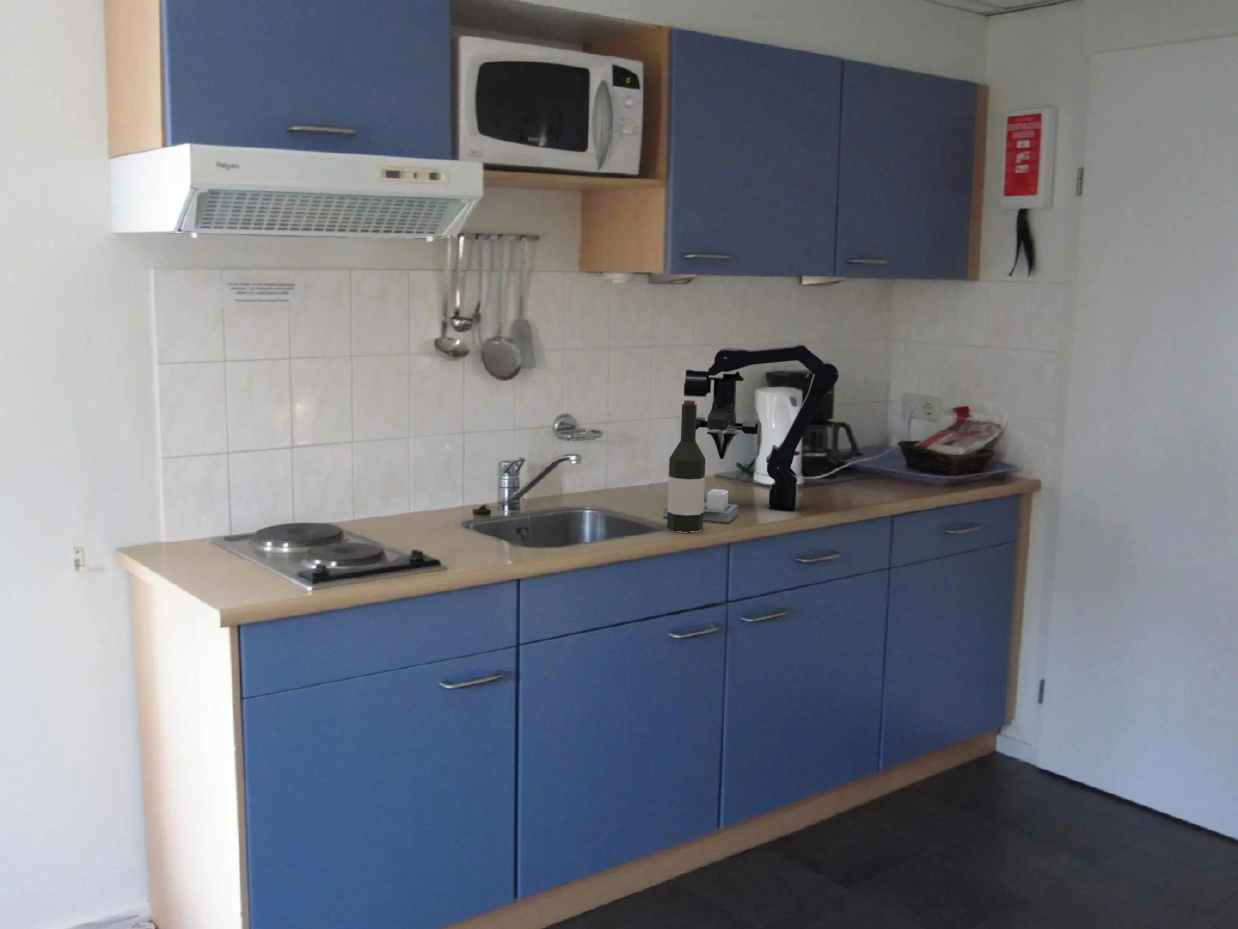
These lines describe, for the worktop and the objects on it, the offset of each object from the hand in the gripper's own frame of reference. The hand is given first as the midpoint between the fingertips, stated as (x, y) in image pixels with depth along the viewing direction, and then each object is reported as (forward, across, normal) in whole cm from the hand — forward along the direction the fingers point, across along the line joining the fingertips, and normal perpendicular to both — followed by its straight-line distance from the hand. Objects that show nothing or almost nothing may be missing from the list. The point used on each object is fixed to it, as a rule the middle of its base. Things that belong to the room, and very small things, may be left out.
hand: (721, 458), depth 311 cm
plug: (+12, +3, -16) cm, 20 cm away
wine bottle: (+12, -1, -32) cm, 34 cm away
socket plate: (+12, -1, -16) cm, 20 cm away
